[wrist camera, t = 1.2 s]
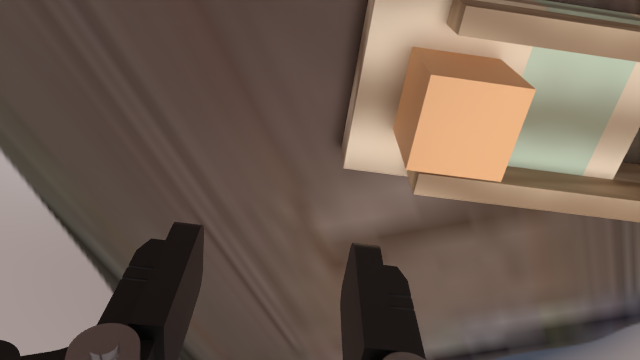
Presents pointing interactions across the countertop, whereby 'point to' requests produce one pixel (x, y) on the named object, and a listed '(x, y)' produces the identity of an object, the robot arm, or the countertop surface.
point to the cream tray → (545, 109)
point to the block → (460, 114)
